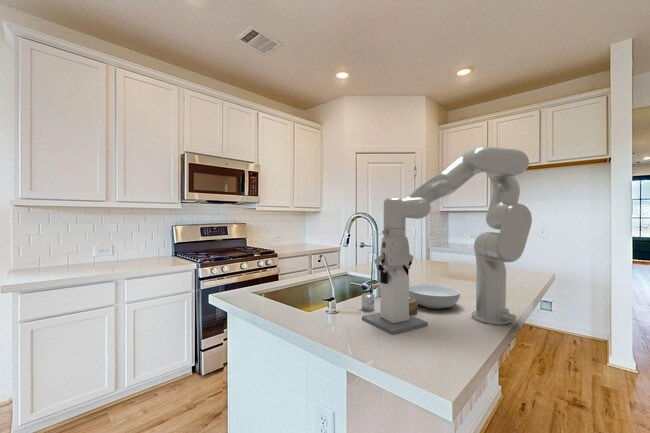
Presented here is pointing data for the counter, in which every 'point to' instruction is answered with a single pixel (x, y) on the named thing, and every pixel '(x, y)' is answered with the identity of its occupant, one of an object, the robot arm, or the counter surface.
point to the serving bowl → (434, 295)
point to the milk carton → (395, 296)
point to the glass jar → (368, 302)
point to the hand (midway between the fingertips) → (394, 281)
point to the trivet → (394, 327)
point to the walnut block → (413, 306)
